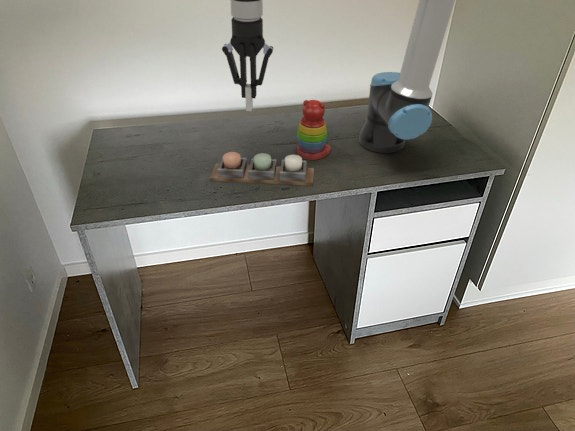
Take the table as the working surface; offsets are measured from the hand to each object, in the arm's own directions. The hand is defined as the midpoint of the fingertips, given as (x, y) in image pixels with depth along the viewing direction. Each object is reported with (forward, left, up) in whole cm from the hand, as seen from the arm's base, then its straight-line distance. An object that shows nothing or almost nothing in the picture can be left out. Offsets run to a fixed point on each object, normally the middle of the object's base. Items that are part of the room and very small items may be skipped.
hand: (249, 108), depth 127 cm
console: (-3, 0, -21) cm, 22 cm away
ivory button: (-12, 0, -18) cm, 22 cm away
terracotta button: (+6, 0, -18) cm, 19 cm away
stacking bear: (-17, -15, -22) cm, 31 cm away
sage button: (-3, 0, -18) cm, 18 cm away
